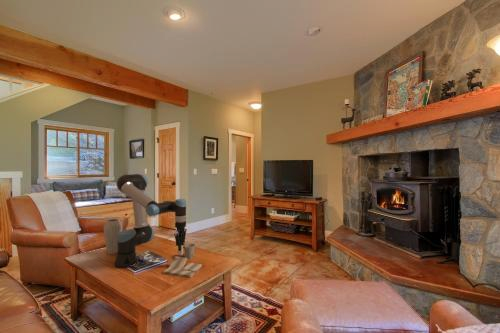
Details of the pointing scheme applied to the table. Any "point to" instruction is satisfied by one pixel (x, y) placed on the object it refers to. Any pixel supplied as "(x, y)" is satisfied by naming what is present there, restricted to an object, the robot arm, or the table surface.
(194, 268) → the plank
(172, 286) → the table surface
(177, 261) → the plank
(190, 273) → the laid row
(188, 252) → the mug
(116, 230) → the vase
